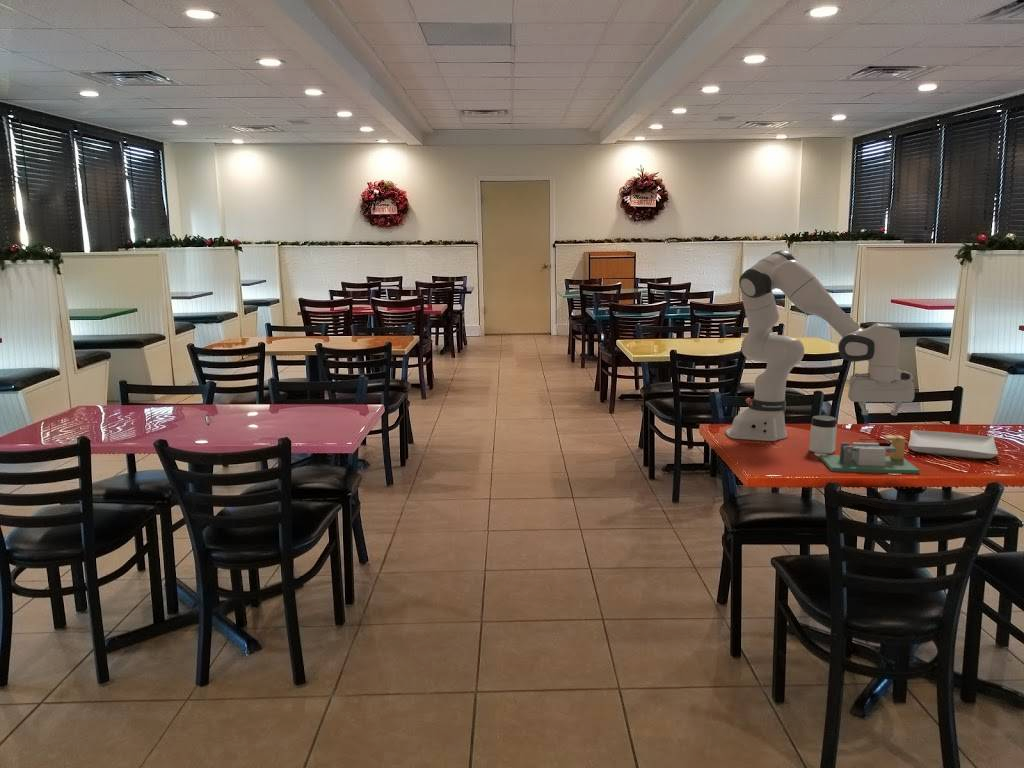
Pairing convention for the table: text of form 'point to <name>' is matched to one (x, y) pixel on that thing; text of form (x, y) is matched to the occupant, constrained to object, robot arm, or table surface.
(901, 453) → the tan wooden block
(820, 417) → the jar
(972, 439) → the square plate
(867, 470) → the board
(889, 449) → the dark grey flat bar
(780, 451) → the table surface
